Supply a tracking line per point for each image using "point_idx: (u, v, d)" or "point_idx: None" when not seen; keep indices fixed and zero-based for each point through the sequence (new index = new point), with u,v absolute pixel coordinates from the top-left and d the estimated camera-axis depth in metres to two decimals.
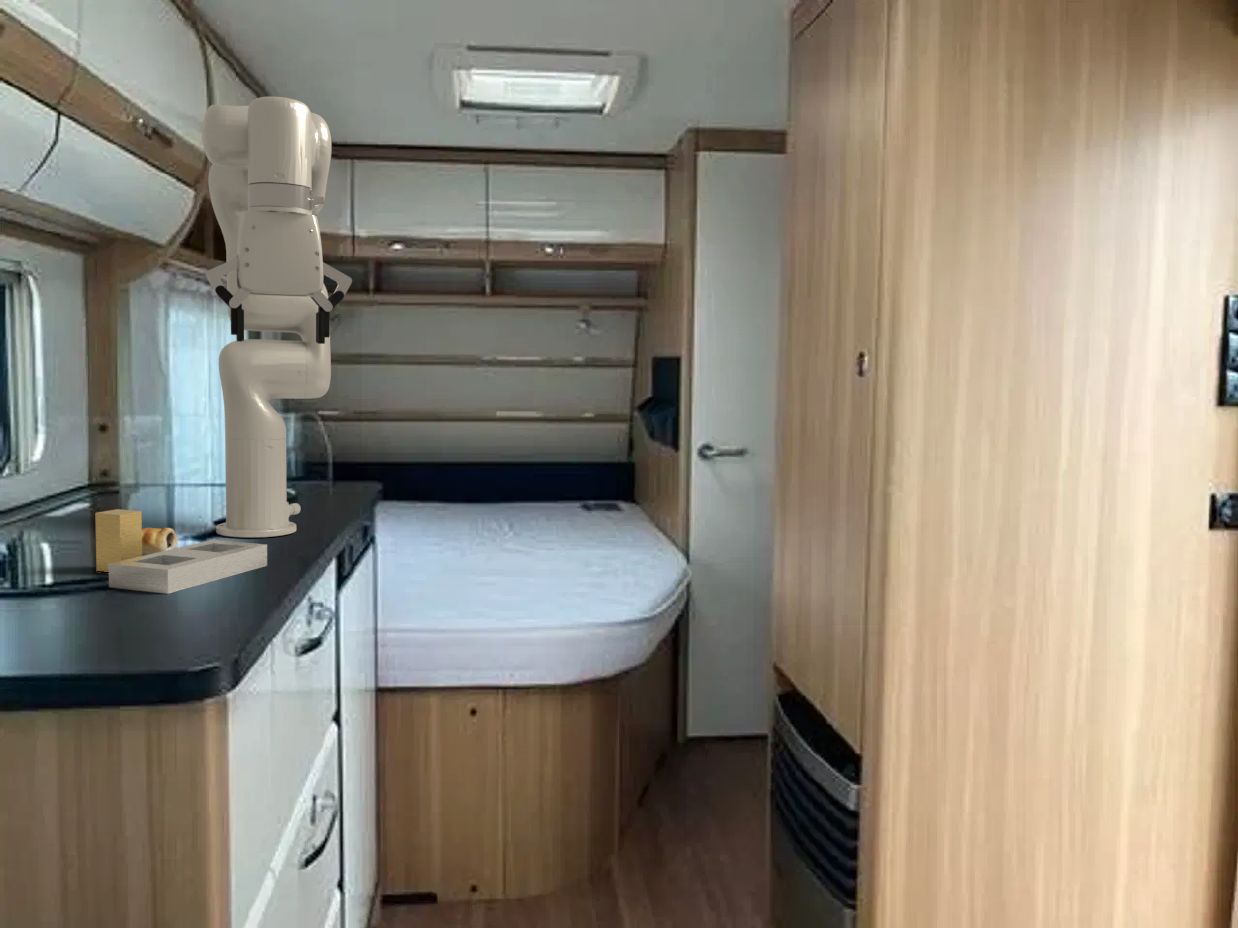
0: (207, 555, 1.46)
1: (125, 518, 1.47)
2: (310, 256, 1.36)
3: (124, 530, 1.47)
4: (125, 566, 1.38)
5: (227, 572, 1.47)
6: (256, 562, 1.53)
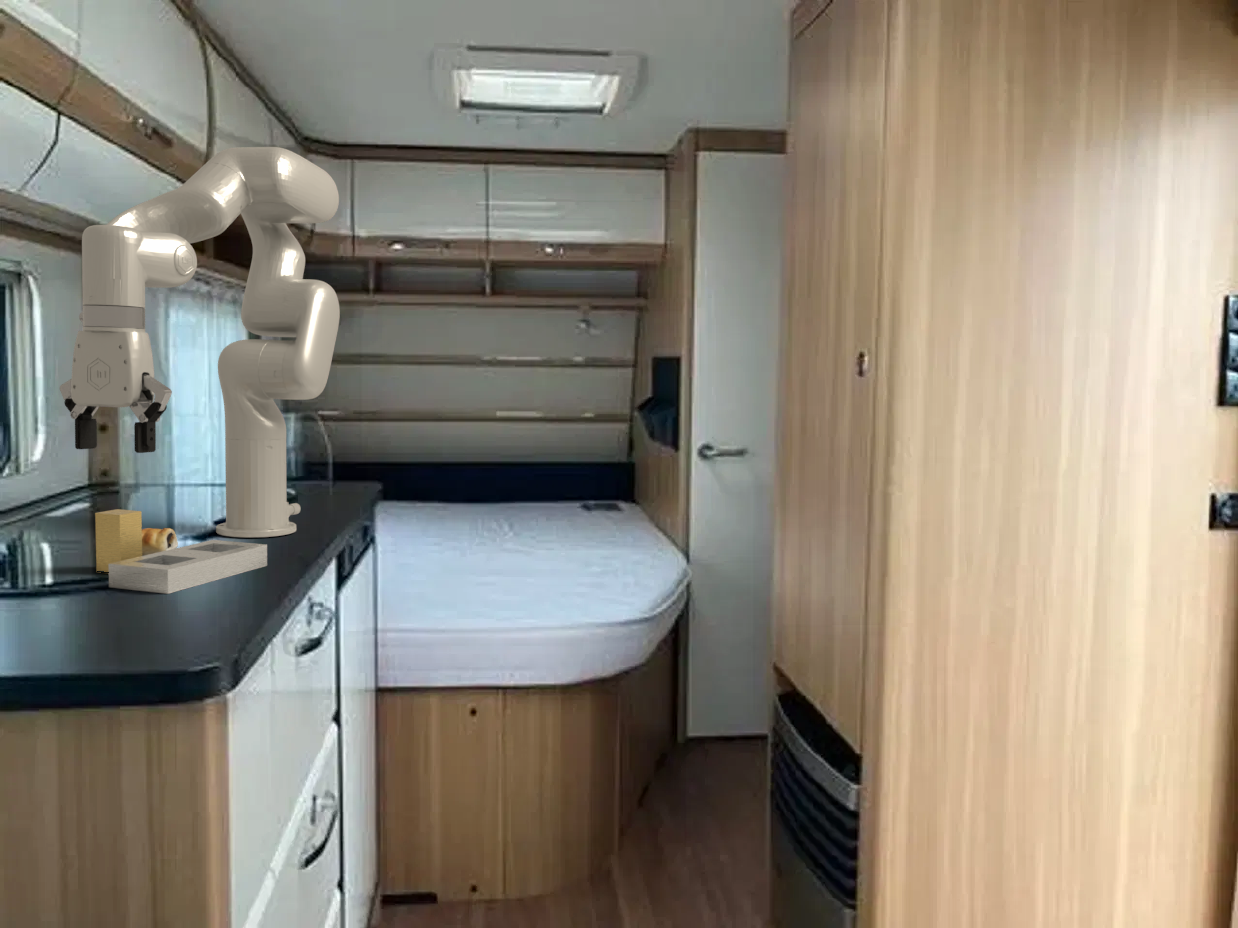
0: (207, 555, 1.46)
1: (125, 518, 1.47)
2: None
3: (124, 530, 1.47)
4: (125, 566, 1.38)
5: (227, 572, 1.47)
6: (256, 562, 1.53)
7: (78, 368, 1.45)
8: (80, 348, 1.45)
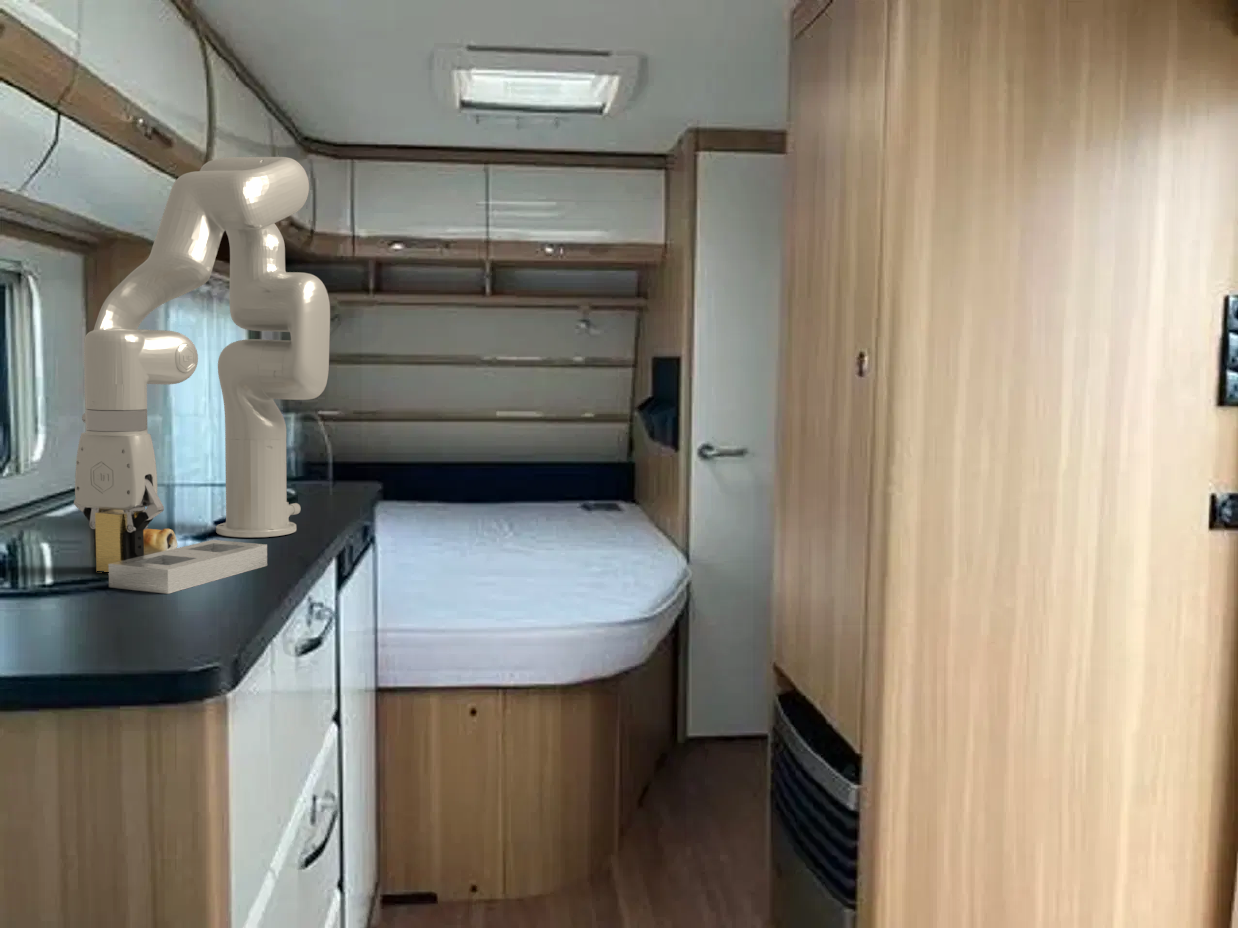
0: (207, 555, 1.46)
1: None
2: None
3: (123, 530, 1.47)
4: (125, 566, 1.38)
5: (227, 572, 1.47)
6: (256, 562, 1.53)
7: (81, 470, 1.47)
8: (83, 451, 1.46)
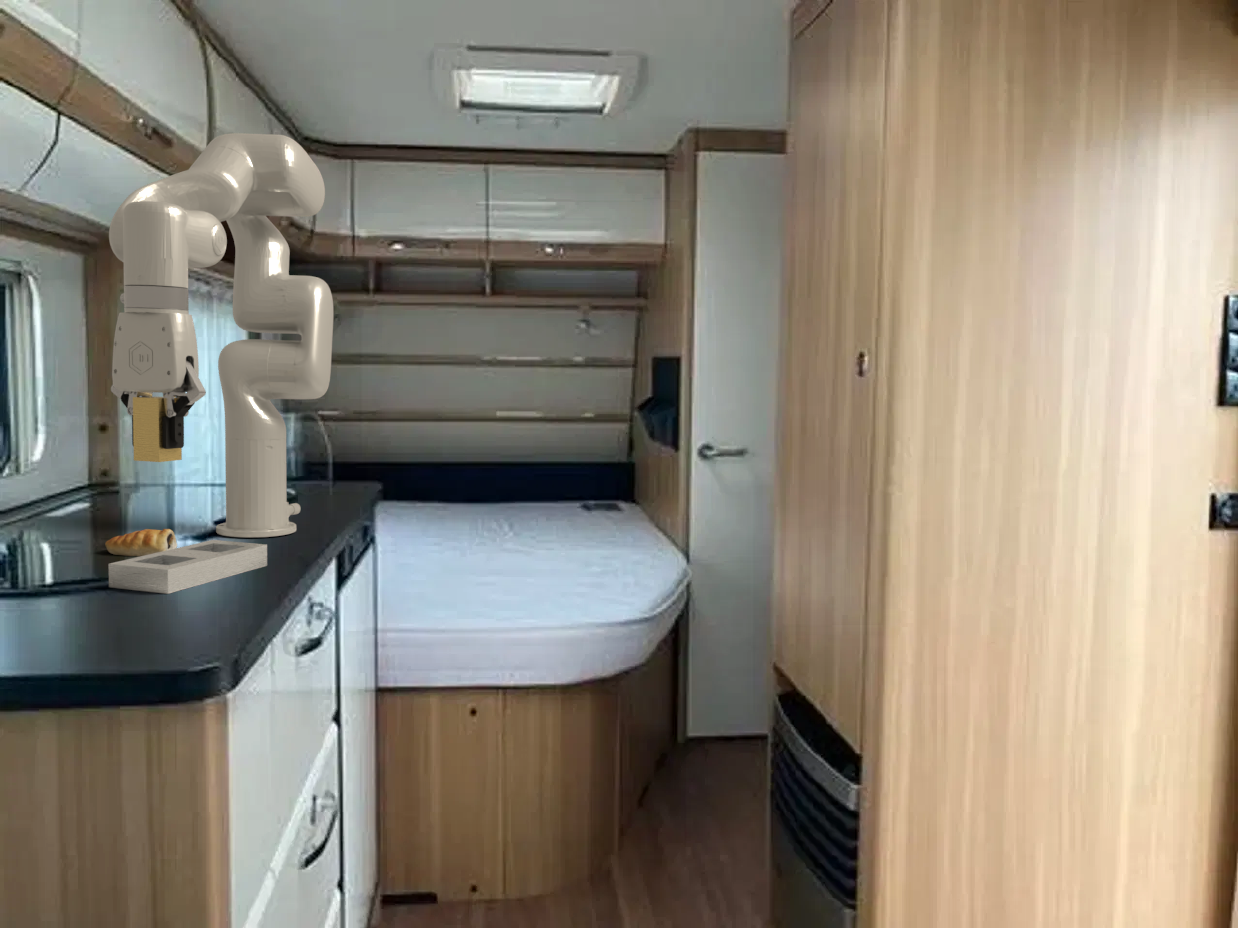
0: (207, 555, 1.46)
1: None
2: None
3: (162, 415, 1.39)
4: (125, 566, 1.38)
5: (227, 572, 1.47)
6: (256, 562, 1.53)
7: (119, 352, 1.39)
8: (121, 331, 1.38)
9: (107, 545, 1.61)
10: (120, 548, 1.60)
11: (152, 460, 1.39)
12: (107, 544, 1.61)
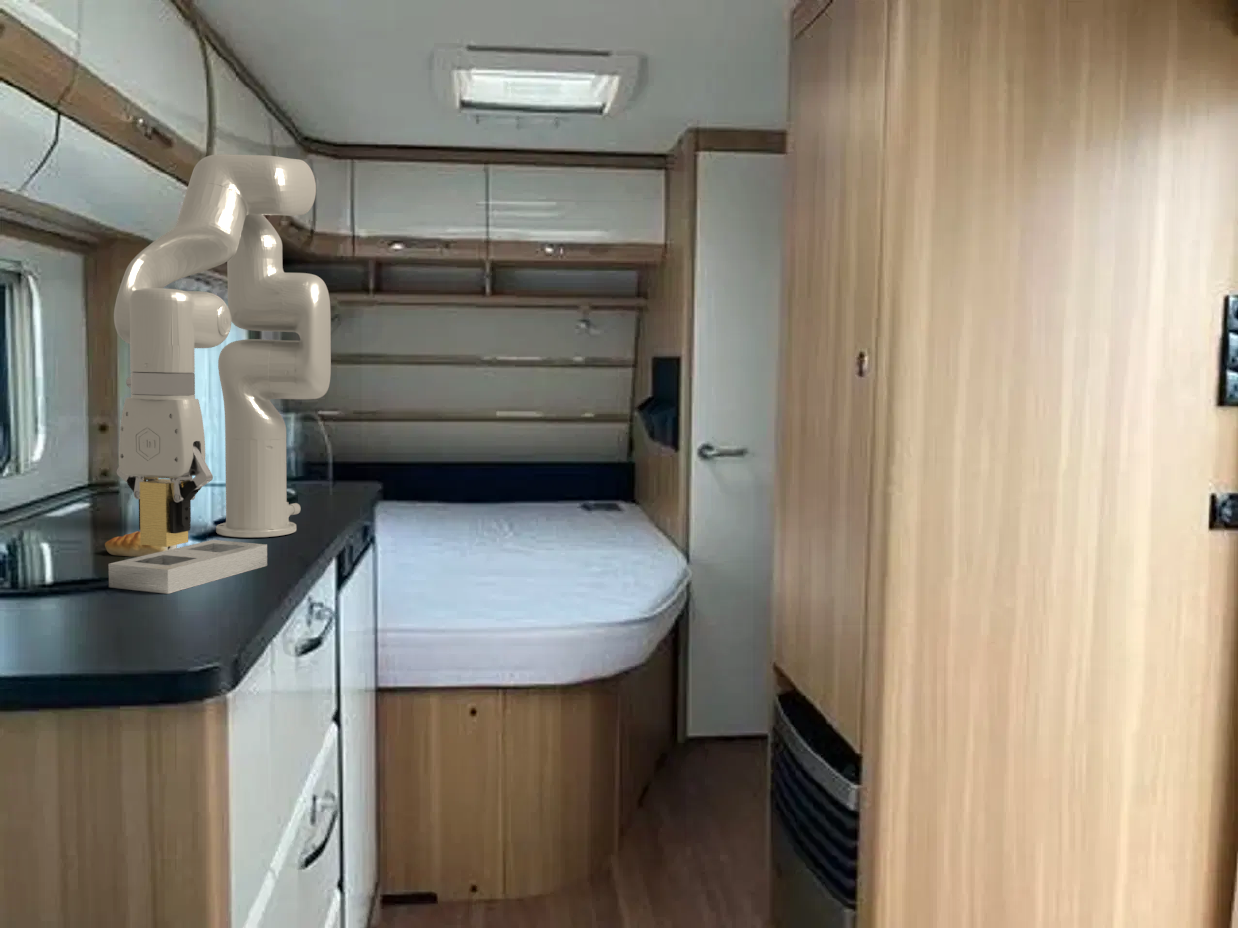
0: (207, 555, 1.46)
1: None
2: None
3: (170, 500, 1.39)
4: (125, 566, 1.38)
5: (227, 572, 1.47)
6: (256, 562, 1.53)
7: (126, 437, 1.39)
8: (128, 416, 1.39)
9: (107, 546, 1.60)
10: (120, 548, 1.59)
11: (159, 545, 1.39)
12: (107, 545, 1.60)
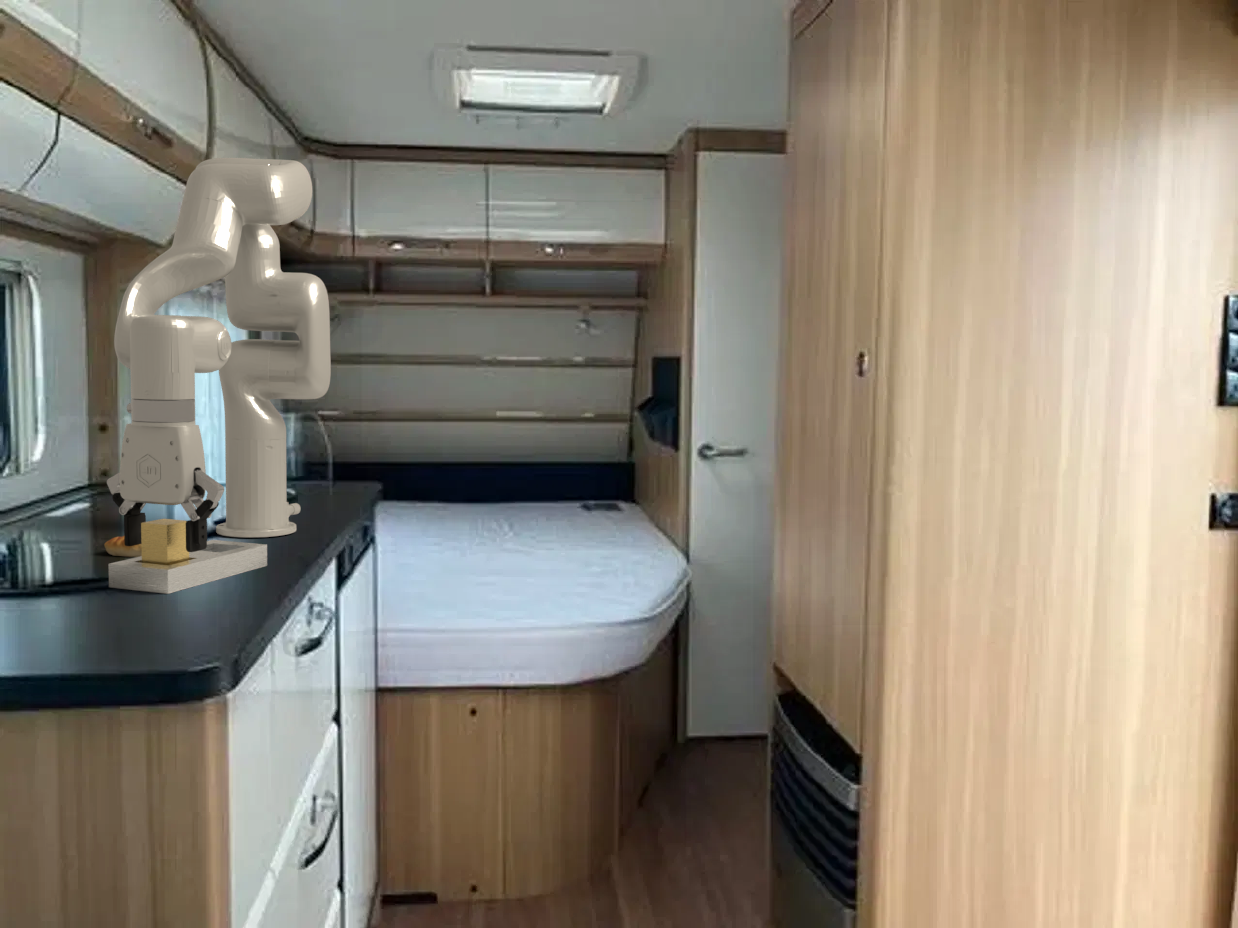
0: (207, 555, 1.46)
1: (172, 529, 1.40)
2: None
3: (171, 541, 1.40)
4: (125, 566, 1.38)
5: (227, 572, 1.47)
6: (256, 562, 1.53)
7: (127, 463, 1.39)
8: (129, 443, 1.39)
9: (106, 546, 1.60)
10: (120, 549, 1.59)
11: None
12: (106, 545, 1.60)
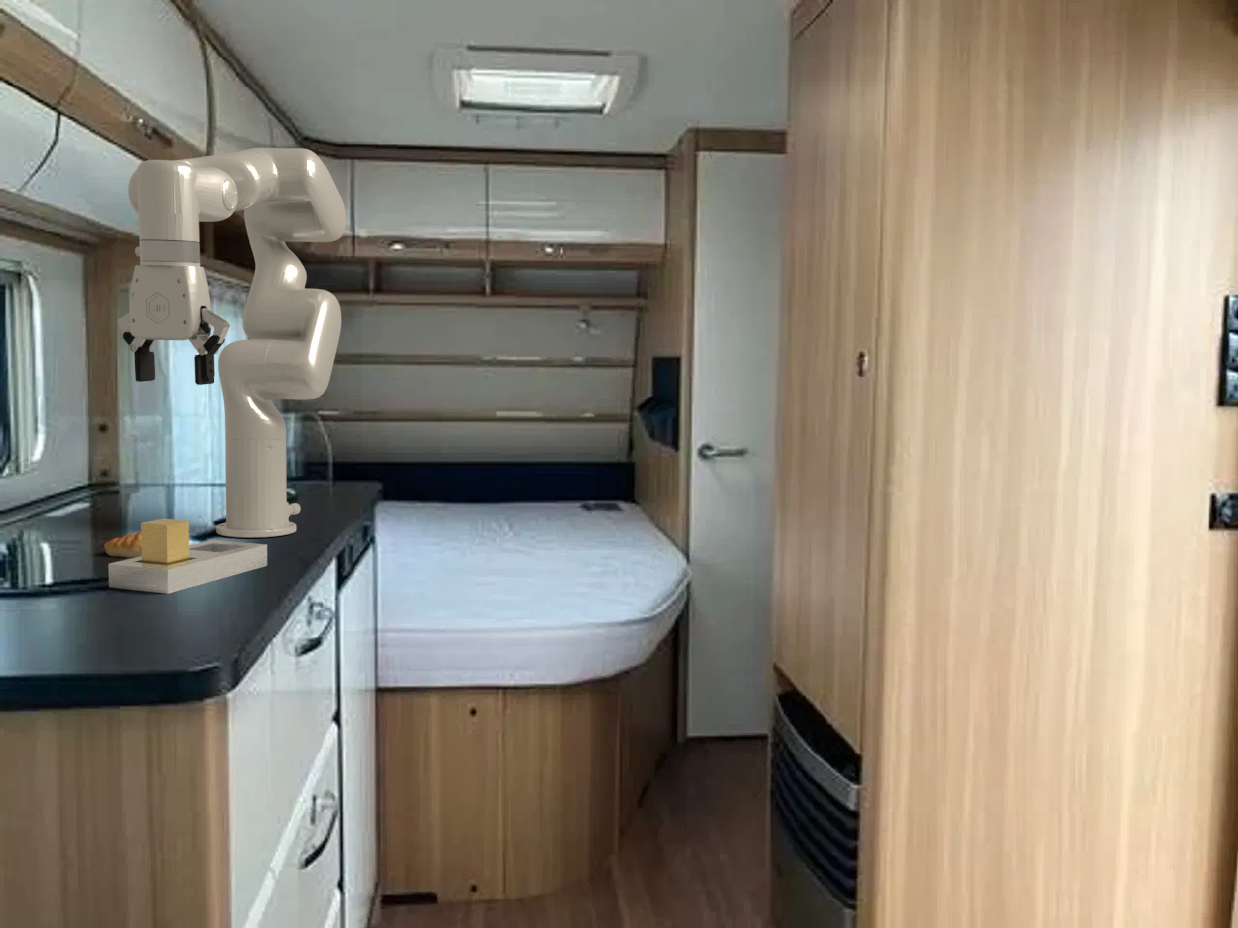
0: (207, 555, 1.46)
1: (172, 529, 1.40)
2: None
3: (171, 541, 1.40)
4: (125, 566, 1.38)
5: (227, 572, 1.47)
6: (256, 562, 1.53)
7: (137, 302, 1.49)
8: (138, 282, 1.48)
9: (106, 547, 1.59)
10: (120, 550, 1.58)
11: None
12: (106, 546, 1.59)
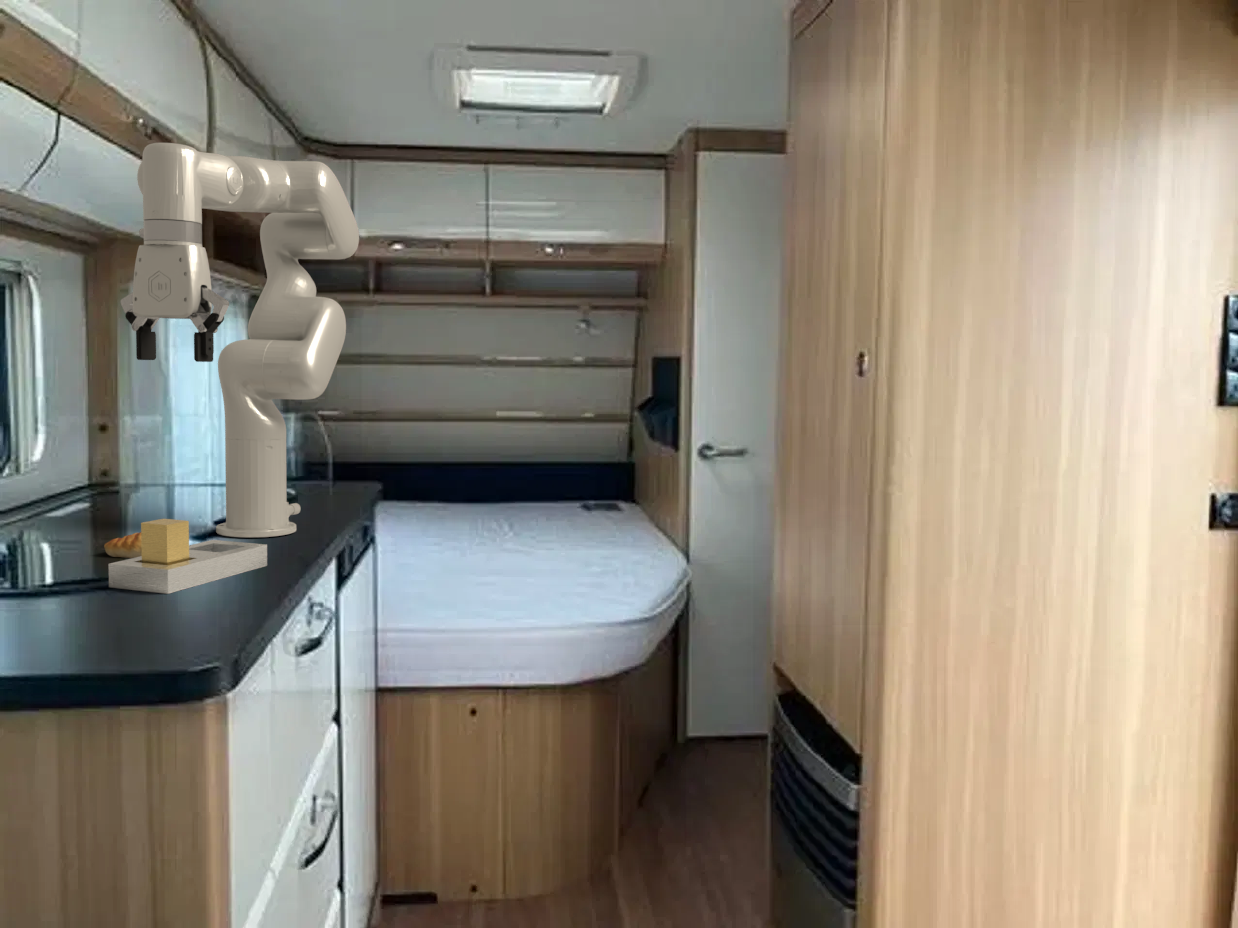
0: (207, 555, 1.46)
1: (172, 529, 1.40)
2: None
3: (171, 541, 1.40)
4: (125, 566, 1.38)
5: (227, 572, 1.47)
6: (256, 562, 1.53)
7: (139, 281, 1.52)
8: (141, 262, 1.52)
9: (106, 547, 1.59)
10: (120, 550, 1.58)
11: None
12: (106, 546, 1.59)
